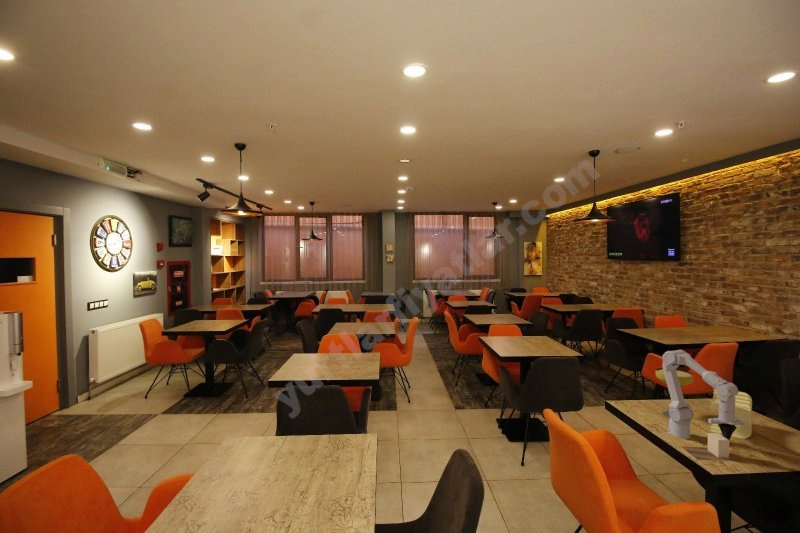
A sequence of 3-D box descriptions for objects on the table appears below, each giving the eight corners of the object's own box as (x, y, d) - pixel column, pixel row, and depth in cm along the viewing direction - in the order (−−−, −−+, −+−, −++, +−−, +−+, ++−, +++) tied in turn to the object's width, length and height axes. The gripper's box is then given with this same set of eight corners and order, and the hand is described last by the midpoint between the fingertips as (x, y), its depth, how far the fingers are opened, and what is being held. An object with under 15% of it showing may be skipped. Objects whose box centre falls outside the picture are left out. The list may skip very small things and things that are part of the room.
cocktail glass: (695, 424, 214) (696, 378, 214) (656, 417, 223) (656, 374, 223) (690, 412, 230) (691, 370, 230) (654, 407, 239) (654, 366, 239)
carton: (707, 450, 182) (707, 433, 182) (717, 450, 182) (718, 433, 182) (718, 457, 176) (718, 439, 175) (729, 458, 175) (729, 440, 175)
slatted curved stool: (751, 446, 189) (751, 410, 188) (709, 436, 199) (709, 402, 199) (751, 426, 211) (752, 393, 211) (713, 418, 222) (714, 387, 221)
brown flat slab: (680, 449, 186) (680, 446, 186) (716, 451, 184) (717, 447, 184) (697, 462, 174) (697, 459, 174) (736, 464, 173) (736, 461, 172)
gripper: (716, 413, 175) (715, 443, 175) (751, 414, 173) (750, 444, 174) (705, 407, 182) (704, 436, 182) (738, 408, 180) (738, 437, 181)
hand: (726, 439), depth 178 cm, fingers closed
